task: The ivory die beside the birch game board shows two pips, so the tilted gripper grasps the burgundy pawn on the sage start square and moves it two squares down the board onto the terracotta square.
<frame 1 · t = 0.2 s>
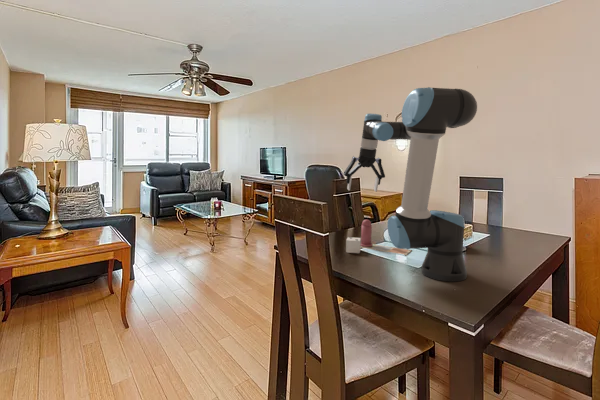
hand: (361, 190, 161), 27 cm above the table, tool pointing down, fingers open, 13 cm apart
die: (353, 251, 149), on the table
pawn: (366, 245, 158), resting on game board
game board: (382, 248, 154), on the table
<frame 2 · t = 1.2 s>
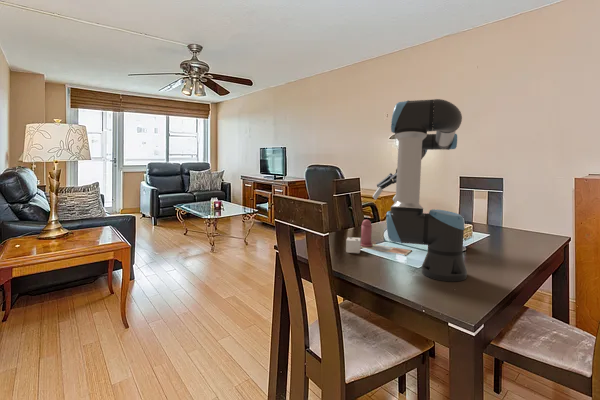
hand: (383, 199, 161), 22 cm above the table, tool tilted 45°, fingers open, 13 cm apart
nothing on the table moved.
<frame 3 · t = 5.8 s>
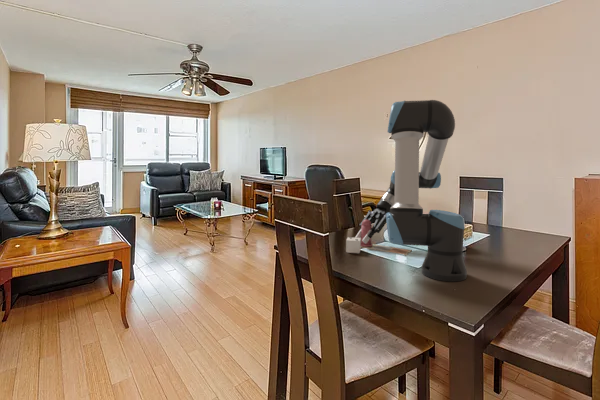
hand: (360, 240, 156), 3 cm above the table, tool tilted 45°, fingers closed on pawn, 5 cm apart
pawn: (366, 245, 158), resting on game board, touching gripper
everything else where it was.
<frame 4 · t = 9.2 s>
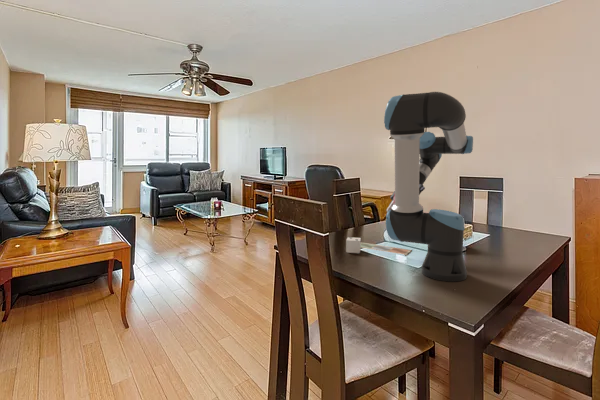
hand: (392, 213, 146), 18 cm above the table, tool tilted 45°, fingers closed on pawn, 5 cm apart
pawn: (398, 218, 148), point 15 cm above the table, touching gripper
everything else where it was.
when the fingers open (5 cm above the table, at t = 12.6 s): pawn drops 1 cm, resting on game board.
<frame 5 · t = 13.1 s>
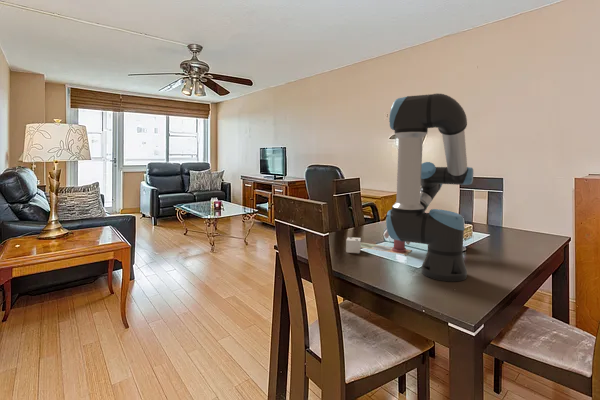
hand: (395, 239, 147), 6 cm above the table, tool tilted 45°, fingers open, 12 cm apart
pawn: (399, 250, 149), resting on game board
everything else where it was.
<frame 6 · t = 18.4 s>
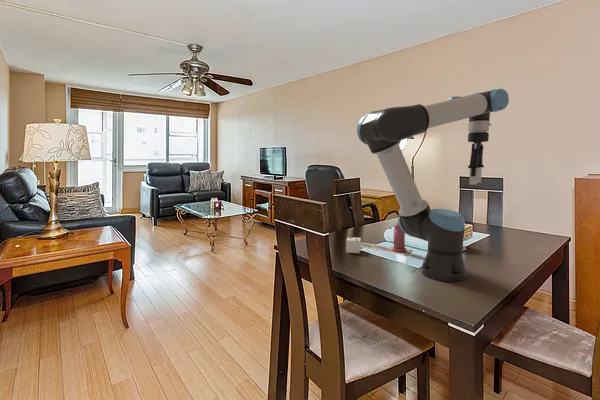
hand: (475, 183, 138), 32 cm above the table, tool pointing down, fingers open, 13 cm apart
nothing on the table moved.
at the end: pawn 0.1 cm from the target spot on the game board, point 0.6 cm above the game board's base; pawn tilted 3°; the gripper is holding nothing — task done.
